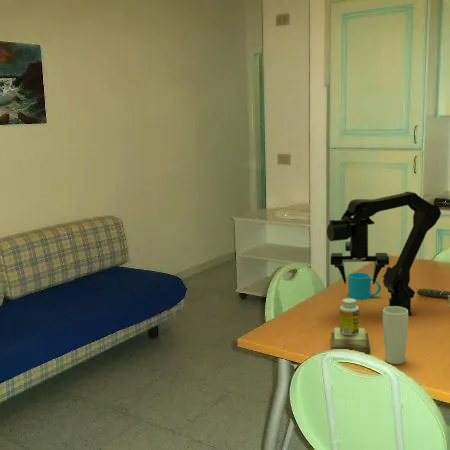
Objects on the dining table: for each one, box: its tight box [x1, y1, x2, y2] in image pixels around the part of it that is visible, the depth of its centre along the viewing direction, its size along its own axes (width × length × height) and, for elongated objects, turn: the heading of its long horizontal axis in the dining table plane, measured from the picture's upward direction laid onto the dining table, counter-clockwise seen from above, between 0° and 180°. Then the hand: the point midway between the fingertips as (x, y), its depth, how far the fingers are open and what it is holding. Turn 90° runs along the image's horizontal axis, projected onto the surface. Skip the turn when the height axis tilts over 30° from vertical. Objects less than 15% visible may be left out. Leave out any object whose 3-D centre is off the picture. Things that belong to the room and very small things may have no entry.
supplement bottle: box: [339, 297, 360, 336], centre depth 174 cm, size 6×6×10 cm
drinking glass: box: [382, 305, 409, 365], centre depth 162 cm, size 7×7×15 cm
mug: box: [347, 271, 382, 301], centre depth 218 cm, size 12×8×8 cm
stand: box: [330, 327, 371, 355], centre depth 175 cm, size 11×11×4 cm
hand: (359, 283), depth 195 cm, fingers open, 9 cm apart
